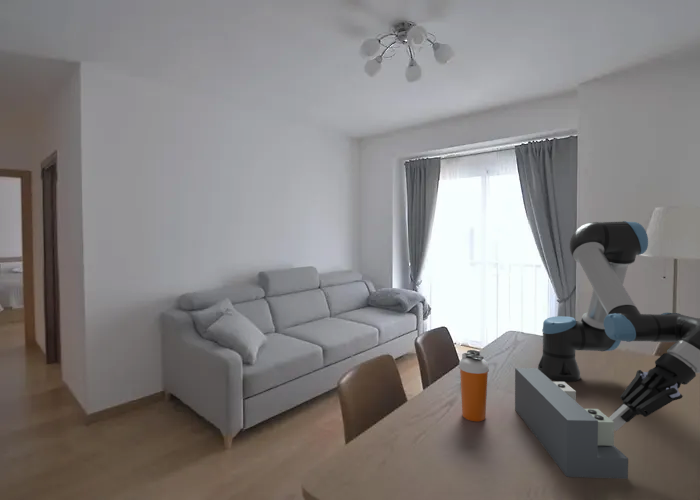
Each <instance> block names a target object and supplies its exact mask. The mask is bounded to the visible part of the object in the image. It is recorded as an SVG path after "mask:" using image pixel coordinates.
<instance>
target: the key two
mask: <svg viewBox="0 0 700 500" xmlns="http://www.w3.org/2000/svg"><path fill="white" fill-rule="evenodd" d="M584 409H585V410H586V411H587V412H588V413H590V414H591V415H592V416H593V417H594V418H595V419H597V420H598V445H604V446H615V430H614V422H613V421H612V420H611V419H610V418H609V417H608V416H607V415H606V414H605V413H603V411H601V410H600V409H599V408H584Z"/></svg>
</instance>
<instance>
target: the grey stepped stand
mask: <svg viewBox="0 0 700 500" xmlns="http://www.w3.org/2000/svg"><path fill="white" fill-rule="evenodd" d="M514 369H515V370H514V379H515V380H514V390H515V391H514V410H515V412H516V413H517V414H518V415H519V417H520V418H521V419H522V420H523V422H524V423H525V424H526V426H527V427H528V429H529V430H530V431H531V433H532V434H533V435H534V436H535V437H536V439H537V440H538V442H539V443H540V444H541V446H542V447H543V448H544V449H545V450H546V452H547V453H548V454H549V456H550V457H551V458H552V459H553V461H554V463H556V465H557V466H558V467H559V469H560V470H561V471H562V473H563V474H564V475H565V476H566V477H567V478H568V477H569V478H590V479H591V478H592V479H593V478H595V479H596V478H597V479H625V480H627V479H628V478H629V457H627V456H626V455H625V454H624V453H623V452H622V451H621V450H620V449H618V447H617V446H615V445H614V446H604V445H598V420H597V419H595V418H594V417H593V416H592V415H591V414H590V413H588V412H587V411H586V410H585V409H586V408H584V407H583V406H581V405H580V404H579V403H578V402H577V400H576V401H575V400H573V399H572V398H571V397H570V396H569V395H568V394H566V393H565V392H564V391H563V390H562V389H561V388H559V387H558V386H557V385H556V384H555V383H554V382H555V381H554V380H553V381H552V379H549V378H548V377H547V376H546V375H544V374H543V373H542V372H541V371H540V370H539V369H538V367H515V368H514Z"/></svg>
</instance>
